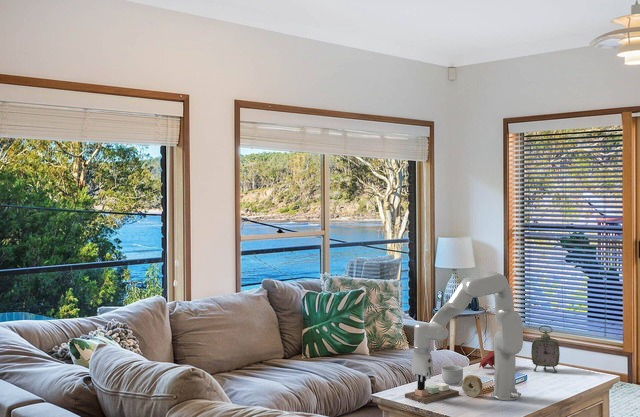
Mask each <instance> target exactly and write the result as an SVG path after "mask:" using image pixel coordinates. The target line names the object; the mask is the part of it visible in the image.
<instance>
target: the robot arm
mask: <svg viewBox="0 0 640 417" xmlns="http://www.w3.org/2000/svg"><path fill="white" fill-rule="evenodd" d="M491 295H493V297H494V307H495V308H494V310H495V311H494V312H495V313H494V314H495V315H494V316H495V318H494V319H495V323H496V324H497V325H498V326H499V327H500V328H501V330H498V331H497V332H496V333H495V334H494V335H493V351H494V352H495V366H494V368H495V369H494V375H493V377H494V378H493V380H494V382H493V383H494V385H493V387H494V388H493V389H494V390H493V391H491V393H490V397H492V398H493V399H496V400H499V401H507V402H508V401H516V400H518V399H519V398H521V396H522V392H518V388H516V355H517V354H519V353H520V352H521V351H522V350H523V345H524V334H523V333H524V331H523V330H524V328H523V327H524V326H523V324H524V323H523V319H522V317H521V315H520V313H519V312H517V311H516V310H515V303H514V302H515V301H514V292H513V291H512V287H511V286H510V283H508V279H507V277H506V276H505V275H504V274H502V273H499V272H496V271H491V270H489V271H486V272H485V273H484V274H483V276H482V277H481V278H475V277H471V276H467V277H465V278H463V279H462V281H461V282H460V283H459V285H458V286H457V288H456V289H455V291H454V292H453V293H452V294H451V297H450V298H448V300H447V302H446V303H444V304H443V305H442V306H441V307H440V308H439V309H438V310H437V311H436V313H435V314H434V315H433V317H432V318H431V320H430V321H429V323H423V322H422V323H421V322H420V323H416V324H415V325H414V327H413V328H414V329H413V330H414V331H413V332H414V333H413V338H414V339H413V352H412V356H411V365H410V366H411V367H410V368H411V372H412V373H411V374H412V375H413V376H415V378H416V379H415V380H416V381H417V388H416V389H418V390H424V389H425V388H426V381H427V380H430V379H432V378H431V376H432V375H433V374H434V363H433V356H432V354H431V352H432V350H431V341H436V342H437V341H438V342H442V341H445V340H446V339H447V338H448V336H449V330H448V328H447V327H446V326H447V325H448V323H449V322H450V321H451V320H452V319H453V318H454V317H456V316H459V315H461V314H462V313H463V312H465V310H466V309H467V307H468V306H469V304H470V302H471V301H472V300H473V298H482V297H486V296H491Z"/></svg>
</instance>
